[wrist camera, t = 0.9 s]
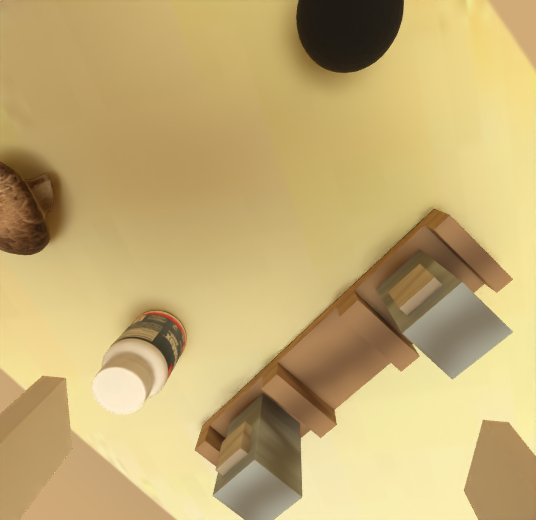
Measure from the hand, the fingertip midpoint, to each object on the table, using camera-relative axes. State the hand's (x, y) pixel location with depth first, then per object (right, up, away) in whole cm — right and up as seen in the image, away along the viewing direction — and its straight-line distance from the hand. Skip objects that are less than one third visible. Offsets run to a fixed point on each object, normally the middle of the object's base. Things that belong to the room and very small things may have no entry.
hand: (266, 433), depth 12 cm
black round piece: (+5, +21, +16) cm, 27 cm away
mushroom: (-21, +10, +21) cm, 31 cm away
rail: (+6, -3, +23) cm, 24 cm away
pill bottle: (-10, -2, +24) cm, 26 cm away
